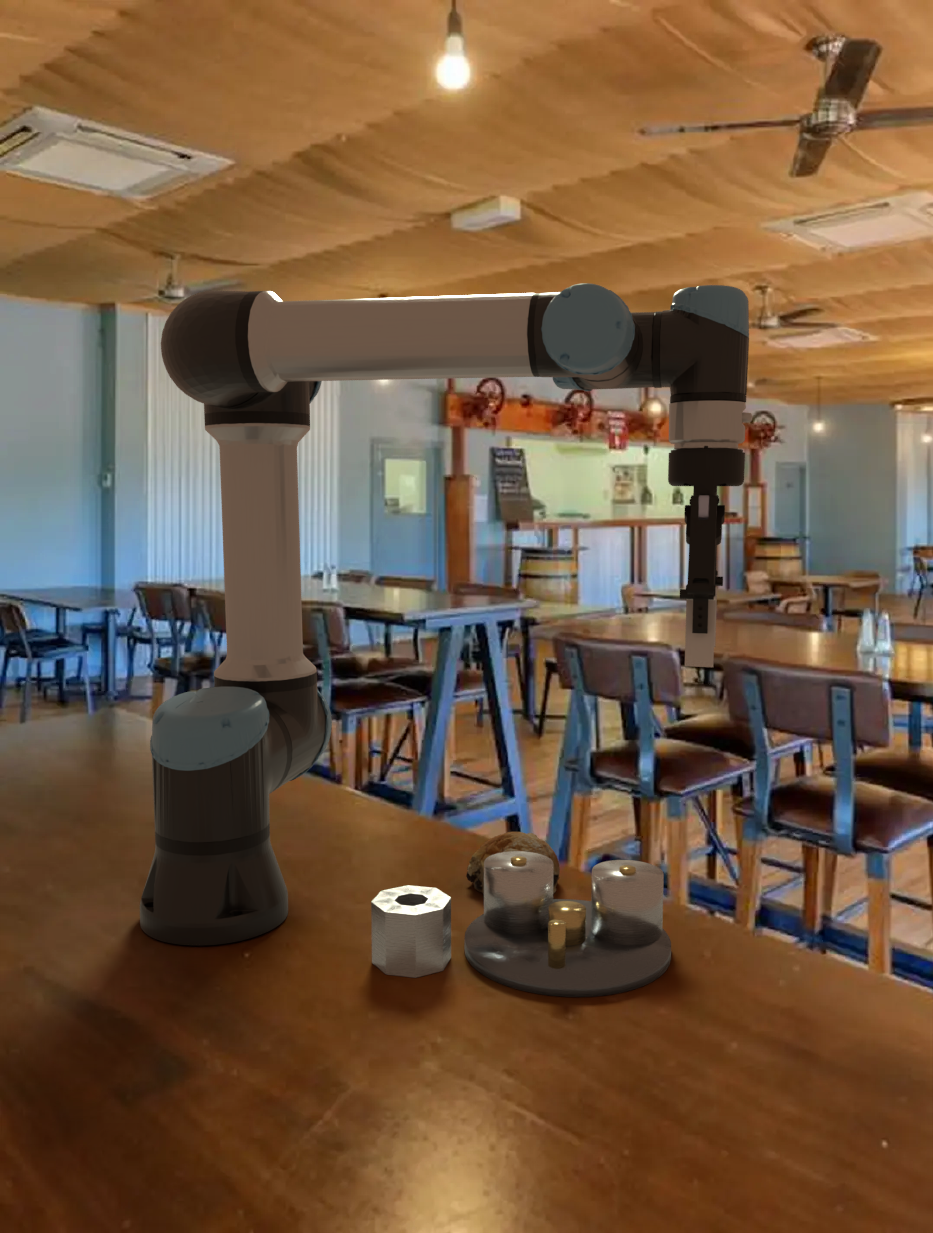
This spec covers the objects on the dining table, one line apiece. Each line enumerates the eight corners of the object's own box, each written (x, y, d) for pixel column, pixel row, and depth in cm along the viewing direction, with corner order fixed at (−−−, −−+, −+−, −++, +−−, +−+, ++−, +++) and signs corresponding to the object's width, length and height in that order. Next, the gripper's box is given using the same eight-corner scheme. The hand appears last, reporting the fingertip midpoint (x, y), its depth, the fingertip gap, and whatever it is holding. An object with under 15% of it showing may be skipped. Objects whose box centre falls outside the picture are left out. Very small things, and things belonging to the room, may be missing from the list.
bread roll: (530, 937, 117) (562, 875, 115) (449, 889, 119) (479, 828, 118) (550, 904, 127) (579, 847, 125) (474, 860, 129) (502, 803, 127)
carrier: (441, 982, 98) (440, 902, 97) (489, 902, 118) (489, 834, 117) (664, 1008, 93) (666, 924, 93) (676, 919, 113) (678, 849, 112)
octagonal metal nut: (364, 971, 101) (364, 909, 100) (388, 941, 107) (387, 883, 107) (437, 980, 99) (437, 917, 98) (456, 948, 106) (456, 889, 105)
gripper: (747, 441, 96) (739, 677, 98) (743, 451, 120) (737, 640, 122) (661, 442, 97) (655, 674, 100) (675, 451, 122) (670, 638, 124)
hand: (700, 656), depth 111 cm, fingers open, 13 cm apart
